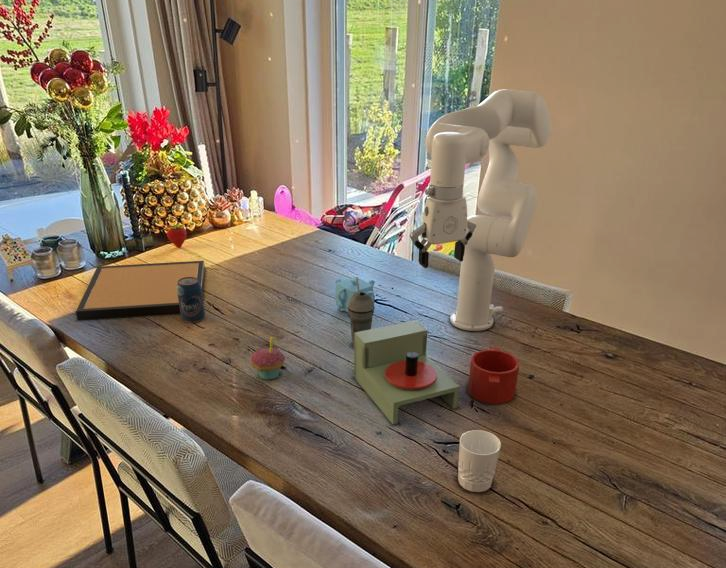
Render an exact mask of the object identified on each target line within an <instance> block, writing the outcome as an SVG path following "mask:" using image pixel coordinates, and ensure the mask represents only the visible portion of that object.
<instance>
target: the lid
mask: <svg viewBox="0 0 726 568" xmlns="http://www.w3.org/2000/svg"><path fill="white" fill-rule="evenodd" d="M385 377H386V379H387V380H388V381H389V382H390V383H391V384H393V385H395V386H397V387H400V388H404V389H422V388H426V387H428V386H430V385H432V384H433V383H434V382H435V381H436V379H437V372H436V370H435V369H434V368H433V367H432V366H430V365H428V364H426V363H423V362H420V361H418V354H417V353H415V352H408V353H407V354H406V361H399V362H396V363H393V364H391V365H390V366H389V367H388V368H387V369H386V371H385Z"/></svg>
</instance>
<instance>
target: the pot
mask: <svg viewBox="0 0 726 568" xmlns="http://www.w3.org/2000/svg"><path fill="white" fill-rule="evenodd" d="M519 372H520V360H519V359H518V357H516V355H513V354H511V353H510V352H507V351H504V350H501V347H499V346H498V347H497V346H490V347H489V349H482V350H479V351H475V352H474V353H473V354H472V355H471V357H470V366H469V372H468V373H469V374H468V381H467V392H468V394H469V395H470V396H471V397H472V398H473V399H475V400H476V401H479V402H482V403H486V404H490V405H491V404H492V405H494V404H495V405H497V404H504V403H508V402H510V401H512V400H513V398H514V397H515V395H516V390H517V383H518V379H519V378H518V377H519Z"/></svg>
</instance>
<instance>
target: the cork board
mask: <svg viewBox="0 0 726 568" xmlns="http://www.w3.org/2000/svg"><path fill="white" fill-rule="evenodd" d="M205 272H206V265H205V260H191V261H175V262H173V261H172V262H153V263H138V264H119V265H101V266H96V268H95V270H94V272H93V275H92V277H91V279H90V281H89V283H88V285H87V287H86V289H85V291H84V293H83V296H82V298H81V300H80V301H79V304H78V306H77V307H76V310H75V314H76V315H75V316H76V319H77V321H85V320H100V319H101V320H102V319H116V318H117V319H118V318H130V317H131V318H133V317H144V316H145V317H147V316H160V315H161V316H163V315H177V314H181V312H180V306H179V300H178V294H177V288H176V287H177V284H178V280H179V279H181V278H185V277H194V278H197V279H198V282H199V283H200V284H201V289H202V294H203V292H204V283H205V282H204V281H205Z"/></svg>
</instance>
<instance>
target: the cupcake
mask: <svg viewBox="0 0 726 568" xmlns="http://www.w3.org/2000/svg"><path fill="white" fill-rule="evenodd" d="M269 340H270V341H269V347H263V348H260V349H258V350H256V351H254V352H253V353H252V354H251V356H250V365H251V367H252V368H253V369H256V371H257V373H258V375H259V377H260V378H261V379H262V380H263V379H264V380H274V379H276V378H278V377H279V374H280V371H281V368H282V367H283V365H284V364H285V360H286V357H285V355H284V354H283V352H282V351H280V350H279V349H277V348H273V346H274V334H272V335H271V336H270V339H269Z"/></svg>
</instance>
